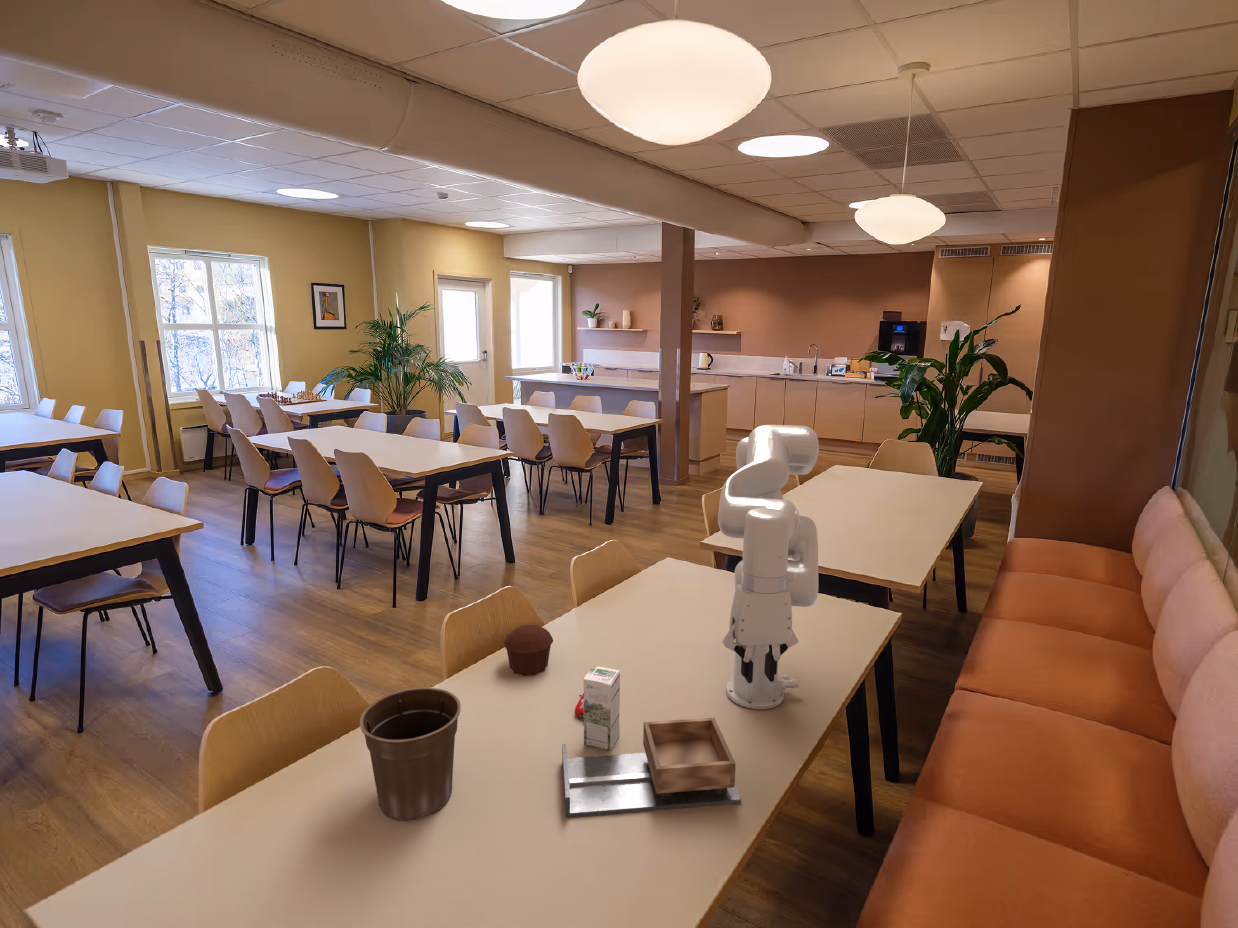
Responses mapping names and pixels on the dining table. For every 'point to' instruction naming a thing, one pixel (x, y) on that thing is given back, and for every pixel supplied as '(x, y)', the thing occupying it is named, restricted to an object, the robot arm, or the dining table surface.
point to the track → (624, 787)
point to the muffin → (528, 649)
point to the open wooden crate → (688, 756)
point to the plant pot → (412, 750)
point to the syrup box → (601, 707)
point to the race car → (580, 708)
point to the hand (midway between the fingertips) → (758, 677)
